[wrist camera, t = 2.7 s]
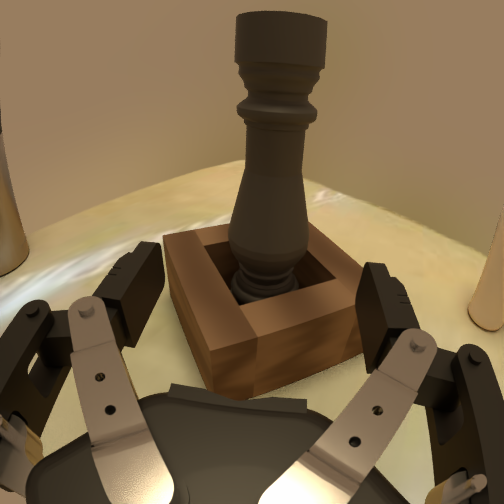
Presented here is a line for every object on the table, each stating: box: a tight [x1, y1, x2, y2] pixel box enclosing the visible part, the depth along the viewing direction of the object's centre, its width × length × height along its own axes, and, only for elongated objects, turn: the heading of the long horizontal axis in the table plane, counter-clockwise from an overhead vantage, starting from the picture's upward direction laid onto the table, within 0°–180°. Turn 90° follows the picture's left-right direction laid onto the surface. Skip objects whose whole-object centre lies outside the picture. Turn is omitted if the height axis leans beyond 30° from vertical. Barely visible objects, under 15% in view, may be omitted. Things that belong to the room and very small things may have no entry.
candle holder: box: [228, 11, 327, 306], centre depth 23 cm, size 6×6×25 cm
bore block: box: [163, 222, 363, 401], centre depth 27 cm, size 14×14×7 cm
